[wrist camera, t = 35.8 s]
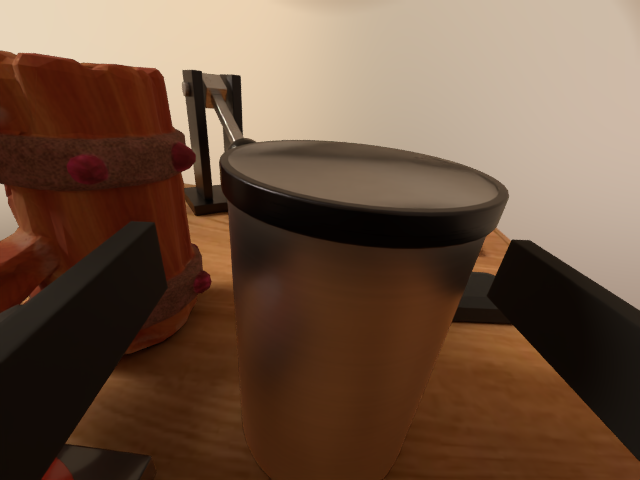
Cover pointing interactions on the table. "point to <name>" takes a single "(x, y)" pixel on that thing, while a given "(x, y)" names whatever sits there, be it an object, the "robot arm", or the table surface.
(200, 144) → the switch
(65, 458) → the hob
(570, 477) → the table surface
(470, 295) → the remote control
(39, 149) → the mug
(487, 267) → the table surface
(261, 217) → the lidded metal tumbler
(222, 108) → the lever
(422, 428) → the table surface
